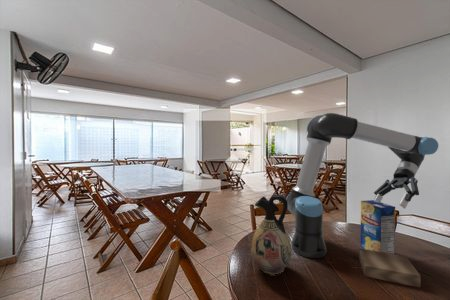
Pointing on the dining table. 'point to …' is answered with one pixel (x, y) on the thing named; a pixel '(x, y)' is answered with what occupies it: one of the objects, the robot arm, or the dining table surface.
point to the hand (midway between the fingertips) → (387, 206)
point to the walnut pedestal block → (389, 267)
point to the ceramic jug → (271, 238)
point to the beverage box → (377, 226)
